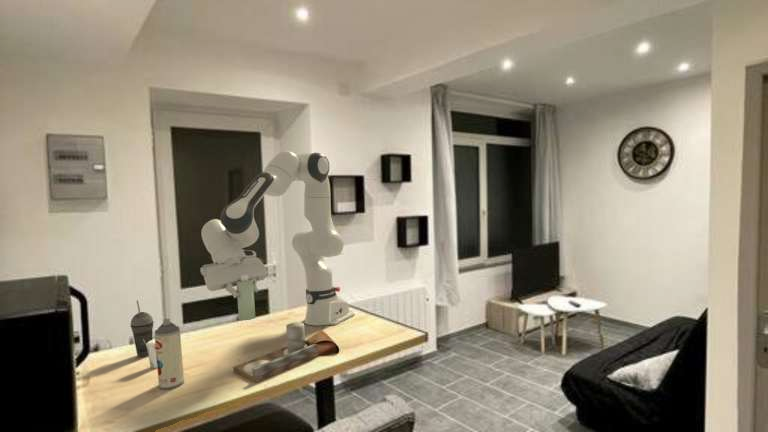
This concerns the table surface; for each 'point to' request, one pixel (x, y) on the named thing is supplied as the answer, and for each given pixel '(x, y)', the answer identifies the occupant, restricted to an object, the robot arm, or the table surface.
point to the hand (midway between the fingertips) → (246, 294)
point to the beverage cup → (142, 331)
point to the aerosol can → (169, 356)
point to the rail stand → (280, 356)
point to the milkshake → (152, 353)
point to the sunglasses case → (323, 343)
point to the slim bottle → (246, 298)
